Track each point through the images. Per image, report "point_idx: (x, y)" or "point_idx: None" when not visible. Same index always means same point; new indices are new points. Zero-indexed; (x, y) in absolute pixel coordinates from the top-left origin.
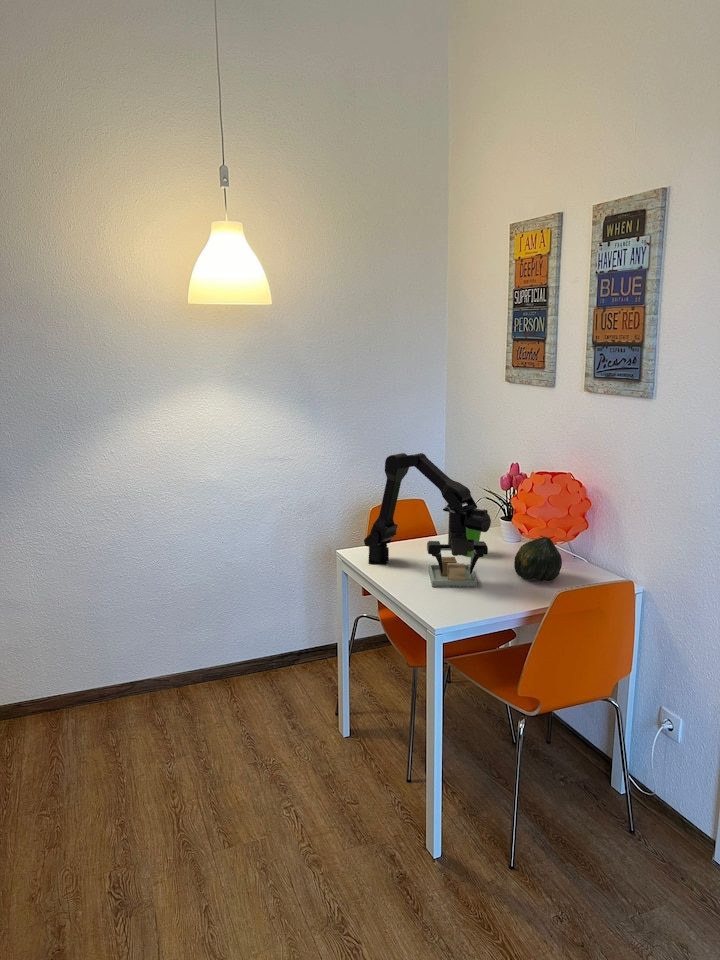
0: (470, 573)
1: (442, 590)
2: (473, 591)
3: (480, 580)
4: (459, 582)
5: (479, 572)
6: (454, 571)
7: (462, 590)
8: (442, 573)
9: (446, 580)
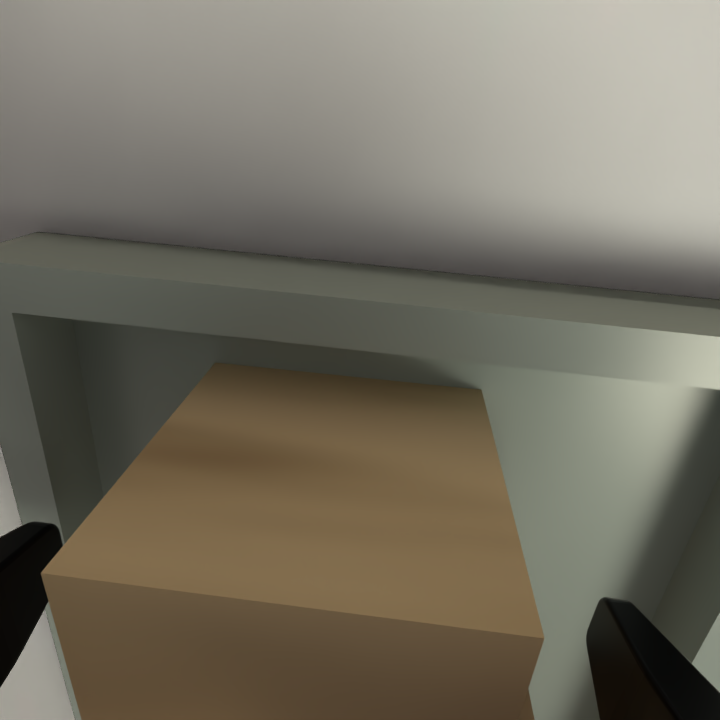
0: (46, 524)
1: (697, 118)
2: (91, 20)
3: (8, 489)
4: (312, 288)
5: (37, 684)
6: (383, 534)
7: (296, 94)
8: (604, 598)
9: (576, 364)
